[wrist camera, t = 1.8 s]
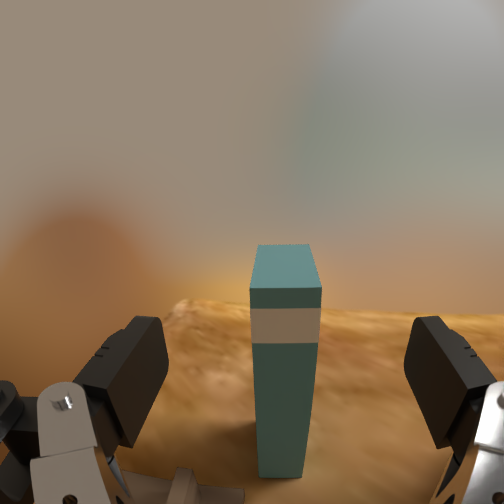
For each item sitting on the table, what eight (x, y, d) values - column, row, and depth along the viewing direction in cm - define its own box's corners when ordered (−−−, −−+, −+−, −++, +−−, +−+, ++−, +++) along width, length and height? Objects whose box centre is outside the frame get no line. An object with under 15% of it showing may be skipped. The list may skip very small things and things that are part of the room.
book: (301, 477, 23) (322, 287, 17) (258, 477, 24) (249, 288, 18) (299, 419, 31) (309, 244, 25) (263, 419, 31) (257, 245, 25)
